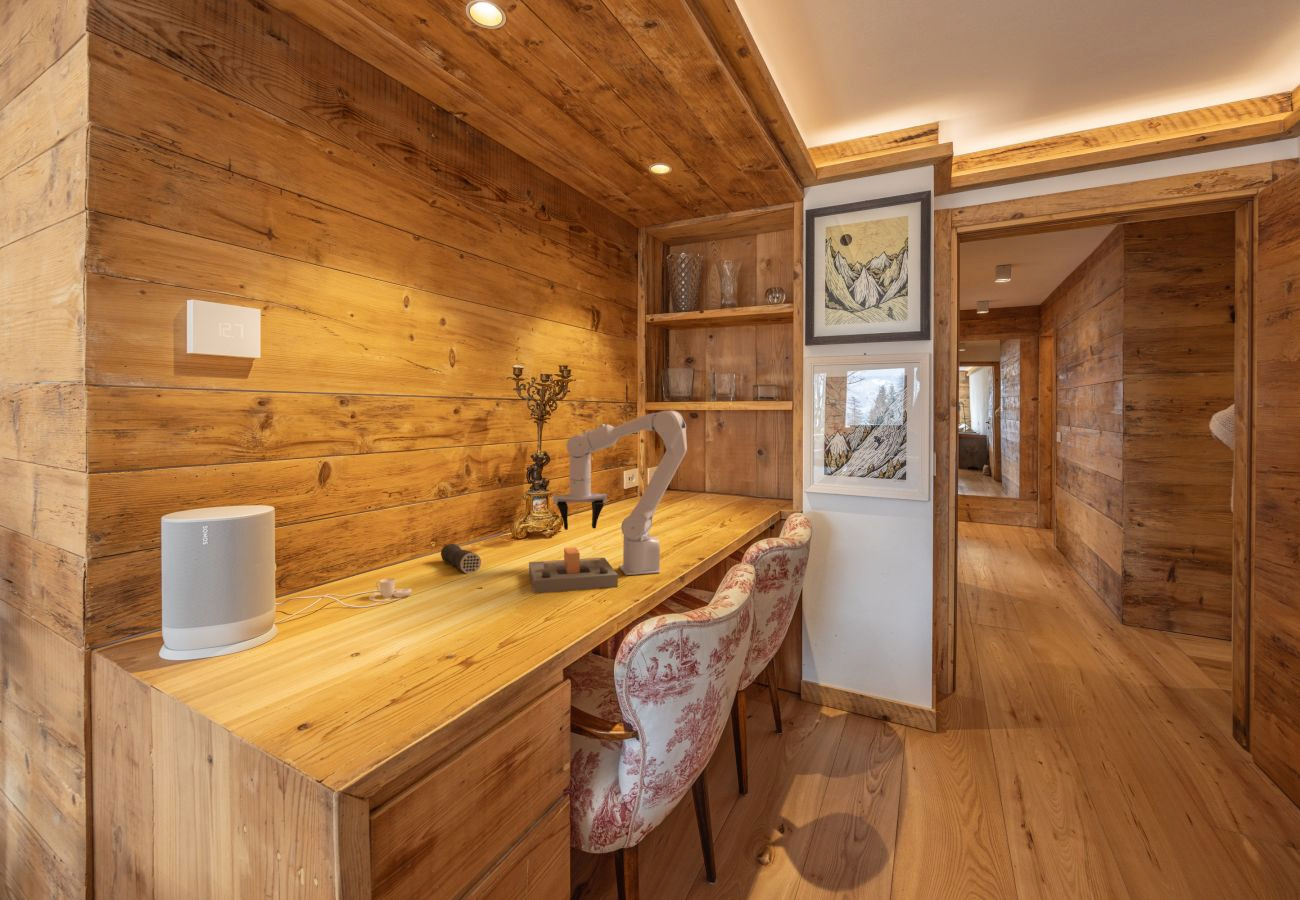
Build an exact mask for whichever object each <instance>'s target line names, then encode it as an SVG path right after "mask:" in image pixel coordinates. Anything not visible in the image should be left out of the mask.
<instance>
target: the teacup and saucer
mask: <svg viewBox="0 0 1300 900" xmlns="http://www.w3.org/2000/svg"><path fill="white" fill-rule="evenodd" d="M378 584H379V586H380V588H379V586H378ZM375 588H376V590H377V592H374V593H373V594H370V595H369V596H368V600H370V601H372V602H375V603H386V602H393V601H398V600H401V599H403V598H405V597H407V596H409V595H411V594H412V589H411V588H410V587H408V588H407V587H406V588H401V589H395V588H396V579H395V578H388V577H387V578H383V579H380V580H379V581H377V582H376V583H375ZM394 591H396V592H394ZM378 595H381V596H382V598H383V599H382V600H381V599H377V598H375V597H377V596H378ZM393 596H394V597H395V598H392V597H393ZM385 598H386V600H385ZM387 598H388V599H387ZM390 598H392V600H391V599H390Z"/></svg>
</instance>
